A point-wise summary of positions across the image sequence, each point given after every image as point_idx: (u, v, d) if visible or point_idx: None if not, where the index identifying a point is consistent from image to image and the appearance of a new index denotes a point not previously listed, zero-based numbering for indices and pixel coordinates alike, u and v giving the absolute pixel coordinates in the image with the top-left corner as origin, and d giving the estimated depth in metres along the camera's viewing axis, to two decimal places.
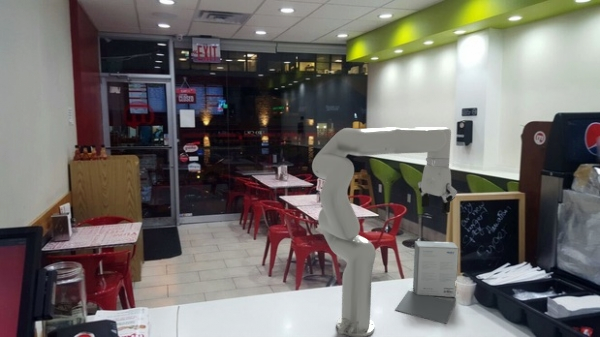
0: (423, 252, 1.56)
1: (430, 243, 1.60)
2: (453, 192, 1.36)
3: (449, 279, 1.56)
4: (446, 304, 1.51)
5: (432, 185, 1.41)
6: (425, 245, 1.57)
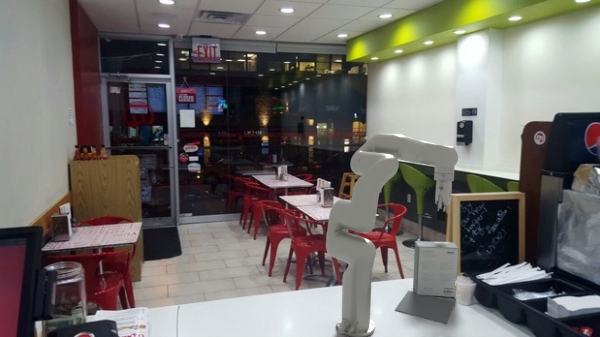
0: (423, 252, 1.56)
1: (430, 243, 1.60)
2: None
3: (449, 279, 1.56)
4: (446, 304, 1.51)
5: (450, 196, 1.64)
6: (425, 245, 1.57)
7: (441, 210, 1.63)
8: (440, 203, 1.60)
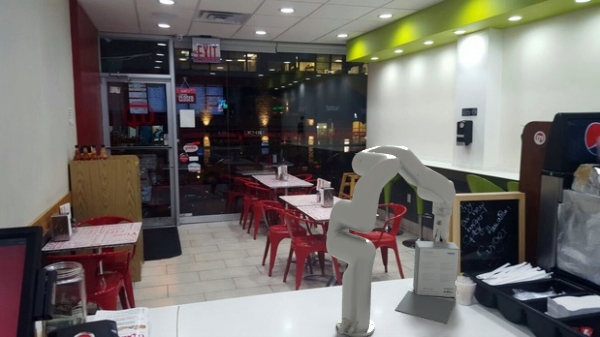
0: (424, 253, 1.55)
1: (431, 243, 1.59)
2: None
3: (449, 279, 1.56)
4: (446, 304, 1.51)
5: (448, 230, 1.63)
6: (426, 246, 1.56)
7: None
8: (438, 237, 1.60)
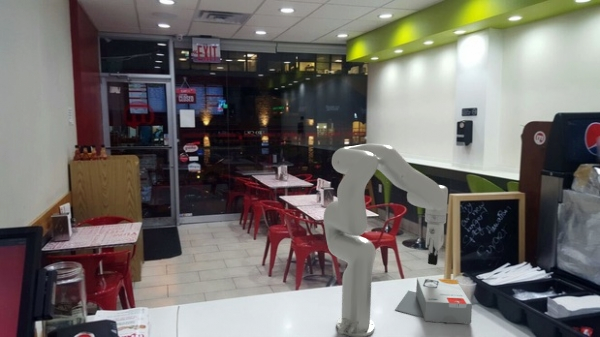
0: None
1: (442, 311, 1.38)
2: None
3: None
4: None
5: (442, 238, 1.53)
6: (434, 317, 1.39)
7: (432, 254, 1.52)
8: (431, 247, 1.49)
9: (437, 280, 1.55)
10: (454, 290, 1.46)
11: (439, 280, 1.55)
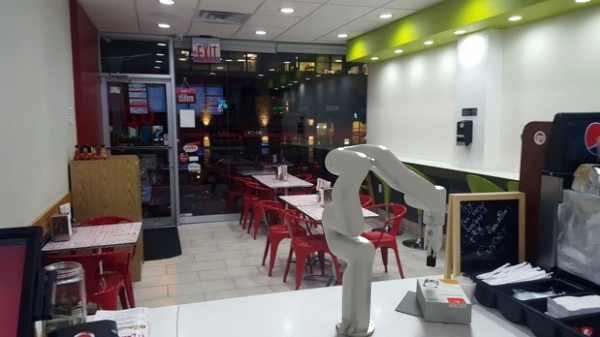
0: None
1: (442, 311, 1.38)
2: None
3: None
4: None
5: (440, 240, 1.50)
6: (434, 317, 1.39)
7: (430, 256, 1.50)
8: (429, 249, 1.47)
9: (437, 280, 1.55)
10: (454, 290, 1.46)
11: (439, 280, 1.55)
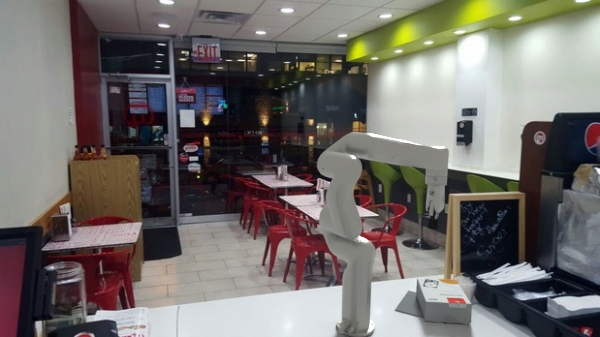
0: None
1: (442, 311, 1.38)
2: None
3: None
4: None
5: (442, 202, 1.48)
6: (434, 317, 1.39)
7: (432, 217, 1.48)
8: (431, 210, 1.45)
9: (437, 280, 1.55)
10: (454, 290, 1.46)
11: (439, 280, 1.55)
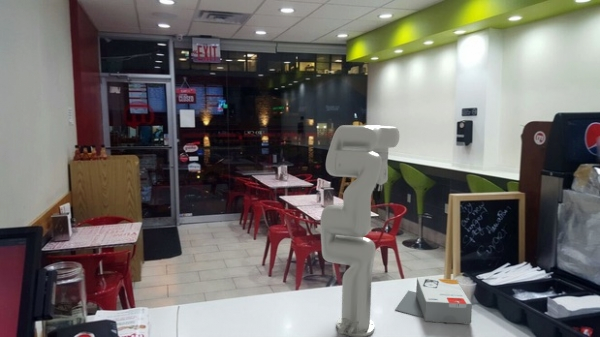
0: None
1: (442, 311, 1.38)
2: None
3: None
4: None
5: (384, 175, 1.66)
6: (434, 317, 1.39)
7: (376, 189, 1.66)
8: None
9: (437, 280, 1.55)
10: (454, 290, 1.46)
11: (439, 280, 1.55)
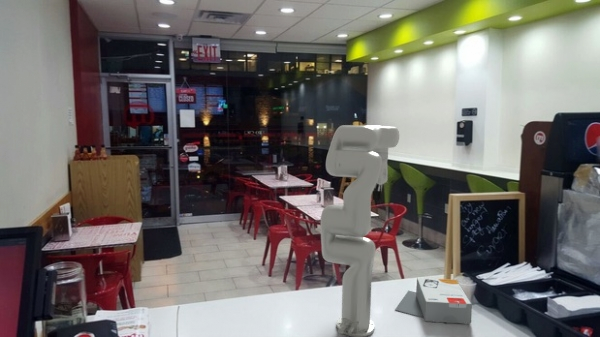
0: None
1: (442, 311, 1.38)
2: None
3: None
4: None
5: (384, 175, 1.66)
6: (434, 317, 1.39)
7: (376, 189, 1.66)
8: None
9: (437, 280, 1.55)
10: (454, 290, 1.46)
11: (439, 280, 1.55)
